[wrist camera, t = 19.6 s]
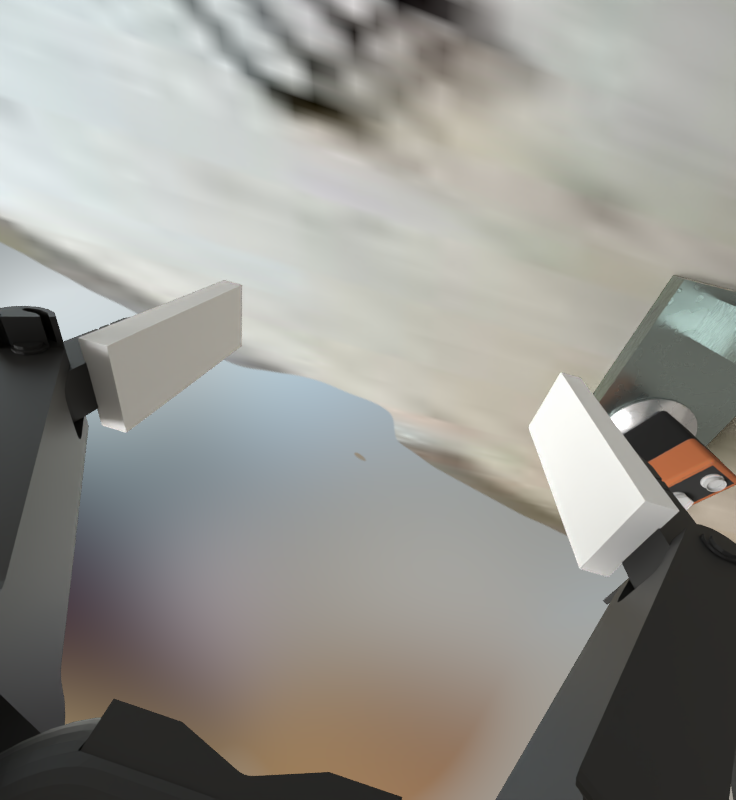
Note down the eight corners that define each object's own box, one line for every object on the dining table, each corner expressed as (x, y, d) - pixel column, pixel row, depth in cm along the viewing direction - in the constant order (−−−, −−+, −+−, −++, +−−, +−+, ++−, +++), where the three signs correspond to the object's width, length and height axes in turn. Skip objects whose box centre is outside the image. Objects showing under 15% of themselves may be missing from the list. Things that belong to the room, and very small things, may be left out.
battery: (608, 441, 43) (647, 502, 35) (662, 407, 40) (721, 465, 31) (631, 460, 44) (676, 524, 35) (687, 428, 40) (751, 490, 32)
